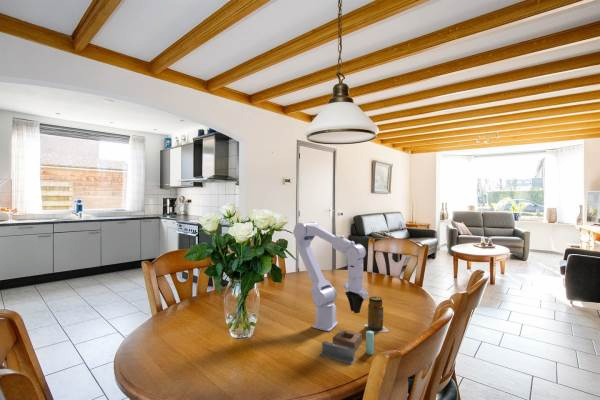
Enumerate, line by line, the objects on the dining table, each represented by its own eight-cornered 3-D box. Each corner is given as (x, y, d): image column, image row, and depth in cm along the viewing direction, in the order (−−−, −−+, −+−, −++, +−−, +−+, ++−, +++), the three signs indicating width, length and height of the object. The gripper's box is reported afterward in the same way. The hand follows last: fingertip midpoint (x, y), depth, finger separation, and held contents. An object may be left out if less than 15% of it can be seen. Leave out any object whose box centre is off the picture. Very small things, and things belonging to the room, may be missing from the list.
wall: (323, 351, 105) (324, 341, 105) (354, 359, 100) (354, 349, 100) (319, 355, 102) (320, 345, 102) (351, 364, 97) (351, 353, 97)
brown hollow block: (340, 338, 115) (341, 329, 115) (361, 343, 111) (361, 334, 111) (332, 347, 108) (332, 337, 108) (354, 353, 104) (354, 343, 104)
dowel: (367, 350, 106) (367, 330, 106) (374, 352, 105) (374, 331, 105) (364, 353, 104) (365, 332, 104) (372, 355, 103) (372, 334, 103)
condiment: (379, 323, 130) (379, 295, 130) (389, 331, 121) (389, 301, 121) (363, 325, 128) (363, 296, 128) (373, 333, 120) (373, 303, 120)
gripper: (337, 272, 122) (337, 306, 122) (356, 282, 109) (356, 320, 109) (352, 271, 125) (352, 304, 125) (373, 280, 111) (372, 317, 111)
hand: (355, 311), depth 117 cm, fingers closed
